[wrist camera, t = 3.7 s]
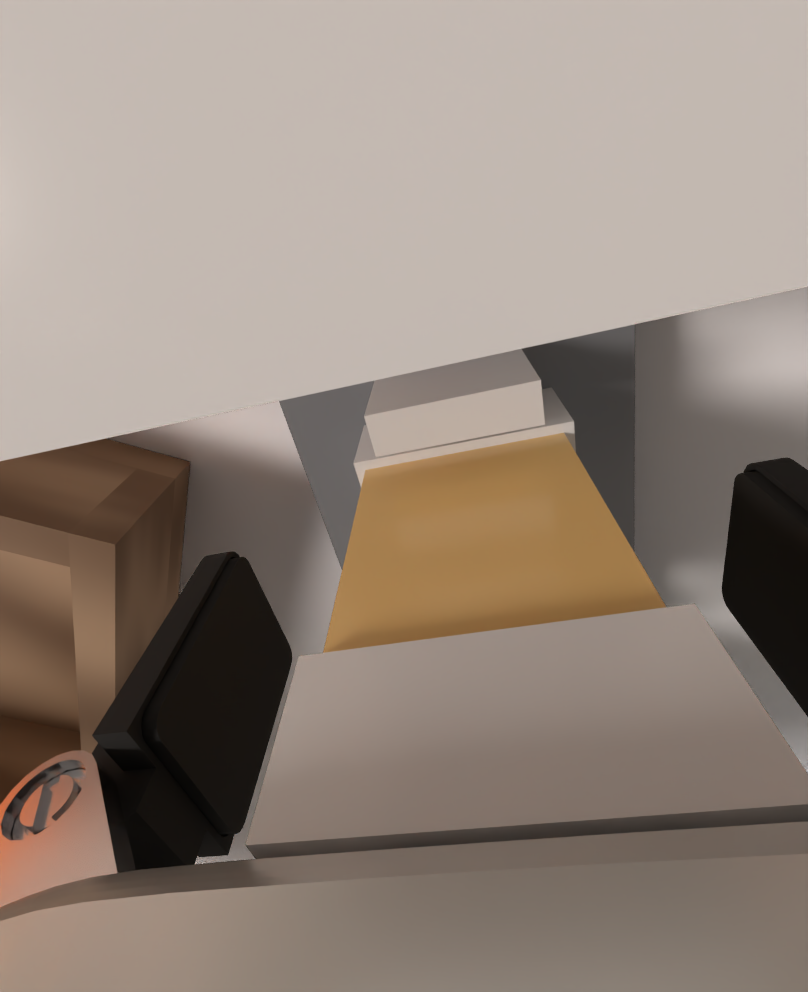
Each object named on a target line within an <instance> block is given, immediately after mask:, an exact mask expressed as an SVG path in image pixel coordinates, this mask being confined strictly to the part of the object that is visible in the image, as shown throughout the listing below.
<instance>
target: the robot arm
mask: <svg viewBox="0 0 808 992" xmlns="http://www.w3.org/2000/svg"><path fill="white" fill-rule="evenodd" d="M722 594H723V598H724V601H725V604H726V606H727V607H728V609H729V610H730V612H731V613H732V614H733V616H734V617H735V618H736V620H737V621H738V622H739V624H740V625H741V626H742V628H743V629H744V631H745V632H746V633H747V635H748V636H749V637H750V639H751V640H752V641H753V643H754V644H755V646H756V647H757V648H758V650H759V651H760V652H761V654H762V655H763V656H764V658H765V659H766V660H767V662H768V663H769V665H770V666H771V667H772V669H773V670H774V671H775V673H776V674H777V675H778V677H779V678H780V679H781V681H782V682H783V684H784V685H785V686H786V688H787V689H788V690H789V692H790V693H791V694H792V696H793V697H794V698H795V700H796V701H797V703H798V704H799V705H800V707H801V708H802V709H803V711H804V712H805V713H806V715H807V716H808V470H807V469H805V468H804V467H802V466H801V465H799V464H798V463H797V462H795V461H794V460H792V459H790V458H780V459H774V460H768V461H762V462H757V463H751V464H749V465H747V467H746V468H745V470H744V473H740V474H738V475H737V476H736V478H735V482H734V489H733V498H732V506H731V515H730V523H729V531H728V540H727V548H726V557H725V565H724V574H723V582H722ZM291 663H292V652H291V648H290V645H289V643H288V641H287V639H286V637H285V635H284V633H283V631H282V629H281V627H280V625H279V623H278V621H277V619H276V617H275V615H274V613H273V611H272V609H271V606H270V604H269V602H268V600H267V598H266V596H265V594H264V592H263V590H262V588H261V586H260V584H259V582H258V580H257V578H256V576H255V574H254V572H253V570H252V568H251V566H250V563H249V562H248V560H247V559H246V558H245V557H239V555H238V554H237V553H236V552H226V553H220V554H215V555H209V556H206V557H204V558H203V559H202V561H201V562H200V564H199V566H198V567H197V569H196V570H195V572H194V574H193V575H192V577H191V578H190V580H189V582H188V583H187V585H186V586H185V588H184V589H183V591H182V593H181V594H180V596H179V597H178V599H177V601H176V602H175V604H174V605H173V607H172V609H171V610H170V612H169V613H168V615H167V617H166V618H165V620H164V621H163V623H162V624H161V626H160V628H159V629H158V631H157V632H156V634H155V636H154V637H153V639H152V640H151V642H150V644H149V645H148V647H147V648H146V650H145V652H144V653H143V655H142V656H141V658H140V660H139V661H138V663H137V664H136V666H135V667H134V669H133V671H132V672H131V674H130V675H129V677H128V679H127V680H126V682H125V683H124V685H123V687H122V688H121V690H120V691H119V693H118V695H117V696H116V698H115V699H114V701H113V703H112V704H111V706H110V707H109V709H108V710H107V712H106V714H105V715H104V717H103V718H102V720H101V722H100V723H99V725H98V726H97V728H96V730H95V731H94V733H93V734H92V736H93V738H94V739H95V740H96V741H97V742H98V744H97V746H96V747H95V749H94V750H93V752H92V754H90V753H88V752H86V751H84V750H80V751H69V752H66V753H63V754H60V755H57V756H55V757H53V758H52V759H50V760H48V761H46V762H44V763H42V764H41V765H40V766H38V767H37V768H36V769H34V770H33V771H32V772H30V773H29V774H28V775H26V776H25V777H24V778H23V779H22V780H21V781H20V782H19V783H18V784H17V785H16V786H15V787H14V788H13V789H12V790H11V791H10V793H9V794H8V795H7V797H6V798H5V799H4V801H3V802H2V803H1V804H0V992H808V821H806V822H791V823H775V824H759V825H743V826H727V827H712V828H696V829H680V830H664V831H649V832H633V833H618V834H603V835H588V836H573V837H559V838H544V839H529V840H514V841H500V842H486V843H471V844H457V845H442V846H428V847H413V848H399V849H386V850H372V851H359V852H345V853H332V854H318V855H305V856H291V857H278V858H264V859H251V860H238V861H227V862H216V863H206V864H195V861H196V858H197V855H198V856H199V857H208V856H222V855H228V853H229V850H230V847H231V844H232V840H233V837H234V834H237V833H239V832H240V831H241V829H242V828H243V826H244V823H245V820H246V817H247V813H248V810H249V807H250V803H251V800H252V796H253V793H254V790H255V786H256V783H257V779H258V776H259V773H260V769H261V766H262V762H263V759H264V756H265V752H266V749H267V745H268V742H269V739H270V735H271V732H272V728H273V725H274V722H275V718H276V715H277V711H278V708H279V705H280V701H281V698H282V694H283V691H284V688H285V684H286V681H287V677H288V674H289V671H290V667H291ZM194 864H195V865H194Z"/></svg>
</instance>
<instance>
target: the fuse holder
mask: <svg viewBox="0 0 808 992" xmlns="http://www.w3.org/2000/svg"><path fill="white" fill-rule="evenodd" d="M550 387H552V389H553V390H554V392H555V393H556V395H557V396H558V398H559V399H560V401H561V402H562V404H563V405H564V407H565V408H566V410H567V411H568V413H569V414H570V416H571V417H572V419H573V420H574V430H575V446H576V454H577V456H578V457H579V459H580V461H581V462H582V464H583V466H584V468H585V469H586V471H587V473H588V474H589V476H590V478H591V480H592V481H593V483H594V485H595V486H596V488H597V490H598V491H599V493H600V495H601V497H602V498H603V500H604V502H605V503H606V505H607V507H608V509H609V510H610V512H611V514H612V515H613V517H614V519H615V520H616V522H617V524H618V526H619V527H620V529H621V531H622V532H623V534H624V536H625V537H626V539H627V541H628V543H629V544H630V546H631V548H632V549H633V551H634V433H635V324H634V325H629V326H624V327H620V328H615V329H611V330H606V331H601V332H597V333H592V334H587V335H583V336H578V337H574V338H569V339H564V340H560V341H555V342H550V343H546V344H541V345H536V346H532V347H527V348H523V349H518V350H513V351H509V352H504V353H499V354H495V355H490V356H486V357H481V358H476V359H472V360H467V361H462V362H458V363H453V364H448V365H444V366H439V367H435V368H430V369H425V370H421V371H416V372H411V373H407V374H402V375H397V376H393V377H388V378H384V379H379V380H374V381H370V382H365V383H360V384H356V385H351V386H347V387H342V388H337V389H333V390H328V391H323V392H319V393H314V394H309V395H305V396H300V397H296V398H291V399H286V400H282V401H279V402H280V405H281V408H282V410H283V413H284V416H285V418H286V421H287V424H288V426H289V429H290V432H291V434H292V437H293V440H294V443H295V445H296V448H297V451H298V453H299V456H300V459H301V461H302V464H303V467H304V469H305V472H306V475H307V477H308V480H309V483H310V485H311V488H312V491H313V493H314V496H315V499H316V502H317V504H318V507H319V510H320V512H321V515H322V518H323V520H324V523H325V526H326V528H327V531H328V534H329V536H330V539H331V542H332V544H333V547H334V550H335V552H336V555H337V558H338V560H339V563H340V566H341V569H343V565H344V560H345V556H346V552H347V547H348V543H349V539H350V534H351V530H352V526H353V521H354V517H355V513H356V508H357V504H358V500H359V495H360V491H361V486H360V483H359V479H358V476H357V473H356V470H355V467H354V464H353V463H354V459H355V456H356V452H357V449H358V445H359V442H360V438H361V435H362V431H363V428H364V425H367V428H368V432H369V435H370V439H371V442H372V445H373V449H374V452H375V456H376V457H379V456H384V455H390V454H395V453H400V452H405V451H410V450H416V449H421V448H426V447H431V446H437V445H442V444H447V443H452V442H457V441H463V440H468V439H473V438H478V437H483V436H489V435H494V434H499V433H504V432H510V431H515V430H520V429H525V428H530V427H536V426H541V425H545V418H544V408H543V397H542V389H546V388H550Z"/></svg>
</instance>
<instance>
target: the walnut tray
mask: <svg viewBox="0 0 808 992" xmlns="http://www.w3.org/2000/svg"><path fill="white" fill-rule="evenodd" d="M189 471H190V462H189V461H185V460H182V459H178V458H174V457H171V456H167V455H164V454H160V453H156V452H153V451H149V450H145V449H142V448H138V447H135V446H131V445H127V444H124V443H120V442H117V441H113V440H109V439H101V440H96V441H92V442H87V443H82V444H78V445H73V446H69V447H64V448H59V449H55V450H50V451H45V452H41V453H36V454H32V455H27V456H22V457H18V458H13V459H8V460H4V461H0V804H1V803H2V802H3V801H4V799H5V798H6V797H7V795H8V794H9V793H10V791H11V790H12V789H13V788H14V787H15V786H16V785H17V784H18V783H19V782H20V781H21V780H22V779H23V778H24V777H25V776H26V775H28V774H29V773H30V772H32V771H33V770H34V769H36V768H37V767H38V766H40V765H41V764H42V763H44V762H46V761H48V760H50V759H52V758H53V757H55V756H57V755H60V754H63V753H66V752H69V751H80V750H84V751H86V752H88V753H90V754H92V752H93V750H94V749H95V747H96V746H97V744H98V742H97V741H96V740H95V739H94V738H93V736H92V734H93V733H94V731H95V730H96V728H97V726H98V725H99V723H100V722H101V720H102V718H103V717H104V715H105V714H106V712H107V710H108V709H109V707H110V706H111V704H112V703H113V701H114V699H115V698H116V696H117V695H118V693H119V691H120V690H121V688H122V687H123V685H124V683H125V682H126V680H127V679H128V677H129V675H130V674H131V672H132V671H133V669H134V667H135V666H136V664H137V663H138V661H139V660H140V658H141V656H142V655H143V653H144V652H145V650H146V648H147V647H148V645H149V644H150V642H151V640H152V639H153V637H154V636H155V634H156V632H157V631H158V629H159V628H160V626H161V624H162V623H163V621H164V620H165V618H166V617H167V615H168V613H169V612H170V610H171V609H172V607H173V605H174V604H175V602H176V601H177V599H178V594H179V583H180V572H181V561H182V549H183V538H184V527H185V516H186V505H187V494H188V483H189Z"/></svg>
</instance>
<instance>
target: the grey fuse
mask: <svg viewBox="0 0 808 992" xmlns="http://www.w3.org/2000/svg"><path fill="white" fill-rule="evenodd" d="M805 287H808V0H0V461H4V460H8V459H13V458H18V457H22V456H27V455H32V454H36V453H41V452H45V451H50V450H55V449H59V448H64V447H69V446H73V445H78V444H82V443H87V442H92V441H96V440H101V439H106V438H110V437H115V436H120V435H124V434H129V433H133V432H138V431H143V430H147V429H152V428H157V427H161V426H166V425H170V424H175V423H180V422H184V421H189V420H194V419H198V418H203V417H208V416H212V415H217V414H221V413H226V412H231V411H235V410H240V409H245V408H249V407H254V406H259V405H263V404H268V403H272V402H277V401H282V400H286V399H291V398H296V397H300V396H305V395H309V394H314V393H319V392H323V391H328V390H333V389H337V388H342V387H347V386H351V385H356V384H360V383H365V382H370V381H374V380H379V379H384V378H388V377H393V376H397V375H402V374H407V373H411V372H416V371H421V370H425V369H430V368H435V367H439V366H444V365H448V364H453V363H458V362H462V361H467V360H472V359H476V358H481V357H486V356H490V355H495V354H499V353H504V352H509V351H513V350H518V349H523V348H527V347H532V346H536V345H541V344H546V343H550V342H555V341H560V340H564V339H569V338H574V337H578V336H583V335H587V334H592V333H597V332H601V331H606V330H611V329H615V328H620V327H624V326H629V325H634V324H638V323H643V322H648V321H652V320H657V319H662V318H666V317H671V316H675V315H680V314H685V313H689V312H694V311H699V310H703V309H708V308H713V307H717V306H722V305H726V304H731V303H736V302H740V301H745V300H750V299H754V298H759V297H763V296H768V295H773V294H777V293H782V292H787V291H791V290H796V289H801V288H805Z"/></svg>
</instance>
